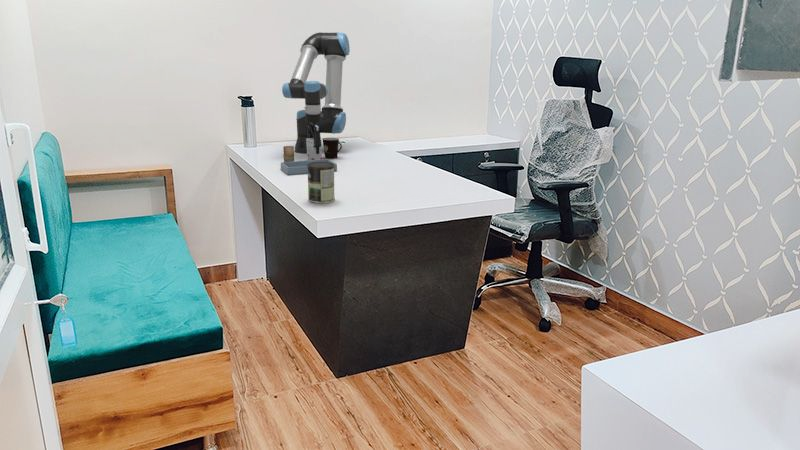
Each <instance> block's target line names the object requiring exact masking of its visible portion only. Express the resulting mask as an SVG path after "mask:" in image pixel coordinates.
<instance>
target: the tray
mask: <svg viewBox="0 0 800 450" xmlns="http://www.w3.org/2000/svg"><path fill="white" fill-rule="evenodd" d="M313 162H330V163H333V164H334V173H336V172H338V165H337V163H335V162H334V161H332V160H331V159H326V158H324V159H323V160H308V161H307V160H298V161H295V160H294V161H293V162H284V161H282V162H280V170H281V171H282V172H283V173H284V174H286V175H287V176H296V175H308V167H307V164H309V163H313Z"/></svg>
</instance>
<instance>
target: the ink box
mask: <svg viewBox="0 0 800 450" xmlns="http://www.w3.org/2000/svg"><path fill="white" fill-rule="evenodd" d="M306 144H307V153H306V158H307V160H306V161H308V160H315V157H314V146H315V144H314V138H307V139H306ZM320 160H323V140H321V147H320Z"/></svg>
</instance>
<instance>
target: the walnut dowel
mask: <svg viewBox="0 0 800 450" xmlns="http://www.w3.org/2000/svg"><path fill="white" fill-rule="evenodd" d="M293 161H295V145H284V146H283V162H293Z"/></svg>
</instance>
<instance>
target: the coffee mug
mask: <svg viewBox="0 0 800 450" xmlns="http://www.w3.org/2000/svg"><path fill="white" fill-rule="evenodd" d="M339 146H340V148H339ZM322 148H323V152H324V159H329V160H334V159H335V160H336V159H337V158H338V153H339V152H340V151H342V148H343V146H342V143H341V142H340V138H339V137H323V138H322Z"/></svg>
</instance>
